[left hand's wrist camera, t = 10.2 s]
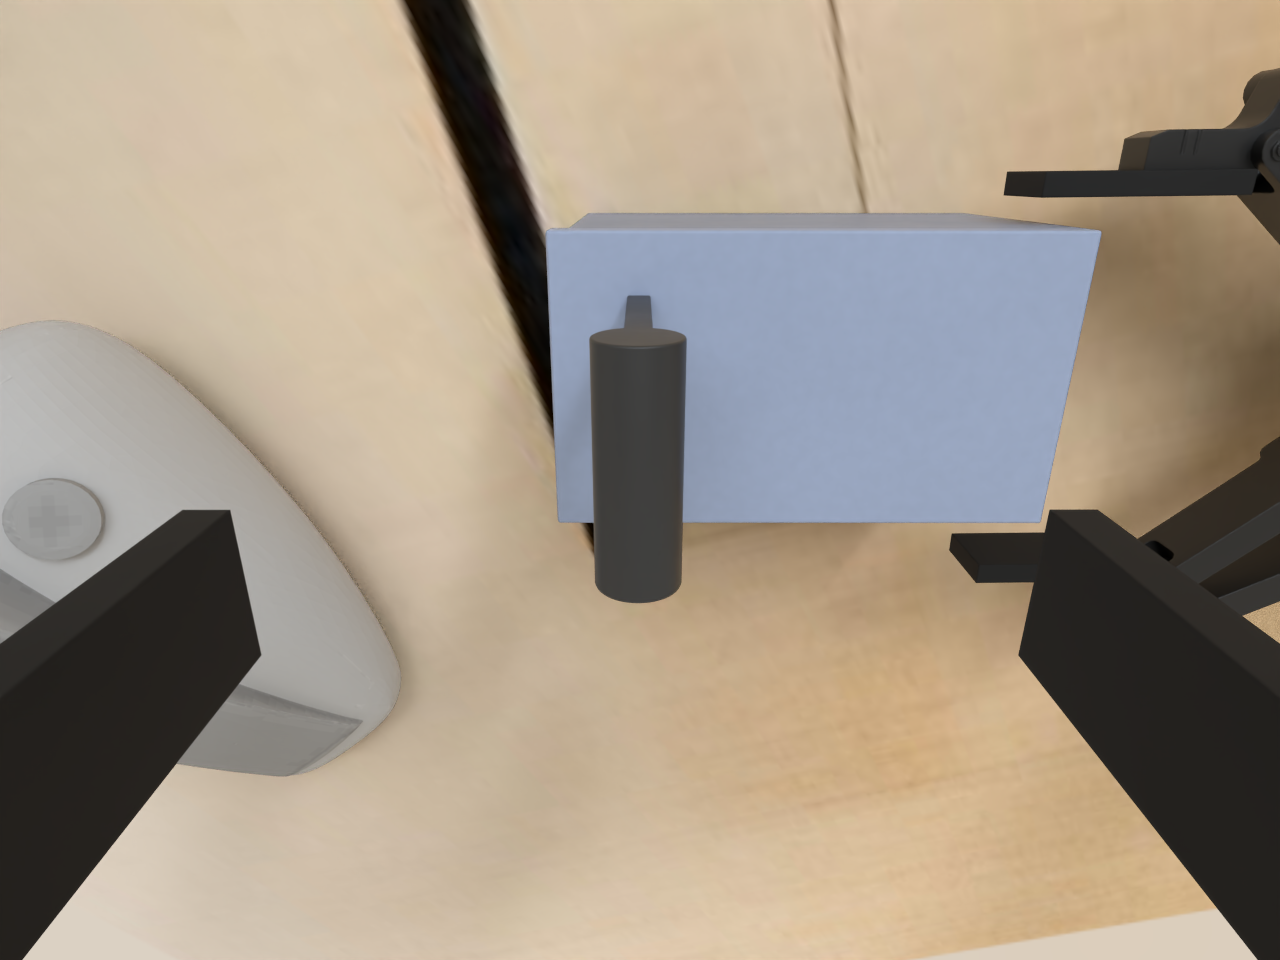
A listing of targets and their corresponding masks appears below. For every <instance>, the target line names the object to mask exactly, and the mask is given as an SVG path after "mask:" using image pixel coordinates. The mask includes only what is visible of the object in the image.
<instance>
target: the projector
mask: <svg viewBox="0 0 1280 960" xmlns="http://www.w3.org/2000/svg"><path fill="white" fill-rule="evenodd" d="M181 510H230V511H231V515H232V520H233V525H234V529H235V534H236V539H237V543H238V548H239V553H240V557H241V562H242V566H243V571H244V576H245V580H246V585H247V590H248V594H249V599H250V604H251V608H252V613H253V618H254V622H255V627H256V632H257V636H258V641H259V645H260V650H261V657H260V658H259V659H258V660H257V662H256V663H255V664H254V666H253V667H252V668H251V669H250V671H249V672H248V673H247V674H246V676H245V677H244V678H243V680H242V681H241V682H240V683H239V685H238V686H237V687H236V688H235V690H234V691H233V692H232V694H231V695H230V696H229V697H228V699H227V700H226V701H225V702H224V704H223V705H222V706H221V708H220V709H219V710H218V711H217V713H216V714H215V715H214V716H213V718H212V719H211V720H210V722H209V723H208V724H207V725H206V727H205V728H204V729H203V730H202V732H201V733H200V734H199V736H198V737H197V738H196V739H195V741H194V742H193V743H192V744H191V746H190V747H189V748H188V750H187V751H186V752H185V753H184V755H183V756H182V757H181V758H180V760H179V761H178V762H177V764H182V765H188V766H195V767H202V768H209V769H217V770H225V771H232V772H241V773H250V774H259V775H270V776H290V775H298V774H302V773H306V772H309V771H311V770H314V769H317V768H319V767H321V766H322V765H324V764H326V763H328V762H330V761H331V760H333V759H335V758H336V757H338V756H339V755H341V754H342V753H344V752H345V751H346V750H348V749H349V748H351V747H352V746H353V745H355V744H356V743H358V742H359V741H360V740H362V739H363V738H364V737H366V736H367V735H368V734H369V733H371V732H372V731H373V730H374V729H375V728H376V727H377V726H378V725H379V724H380V723H381V722H383V721H384V720H385V718H386V717H387V716H388V715H389V713H390V712H391V710H392V709H393V707H394V705H395V703H396V701H397V698H398V695H399V691H400V686H401V671H400V667H399V664H398V661H397V658H396V656H395V654H394V651H393V649H392V647H391V644H390V642H389V641H388V639H387V637H386V635H385V633H384V631H383V629H382V627H381V625H380V624H379V622H378V620H377V618H376V617H375V615H374V613H373V612H372V610H371V608H370V607H369V605H368V603H367V602H366V600H365V598H364V596H363V595H362V593H361V592H360V590H359V589H358V587H357V586H356V584H355V583H354V581H353V579H352V578H351V576H350V575H349V573H348V572H347V570H346V569H345V567H344V566H343V564H342V563H341V561H340V560H339V559H338V557H337V556H336V554H335V553H334V552H333V550H332V549H331V548H330V546H329V545H328V543H327V542H326V541H325V539H324V538H323V537H322V535H321V534H320V533H319V531H318V530H317V529H316V528H315V526H314V525H313V524H312V522H311V521H310V520H309V519H308V517H307V516H306V515H305V514H304V512H303V511H302V510H301V509H300V508H299V506H298V505H297V504H296V503H295V502H294V500H293V499H292V498H291V497H290V496H289V495H288V493H287V492H286V491H285V490H284V489H283V487H282V486H281V485H280V484H279V483H278V482H277V481H276V480H275V478H274V477H273V476H272V475H271V474H270V473H269V472H268V471H267V470H266V468H265V467H264V466H263V465H262V464H261V463H260V462H259V461H258V460H257V459H256V457H255V456H254V455H253V454H252V453H251V452H250V451H249V450H248V449H247V448H246V447H245V446H244V445H243V444H242V443H241V442H240V441H239V440H238V439H237V438H236V437H235V436H234V435H233V434H232V432H231V431H230V430H229V429H228V428H227V427H226V426H225V425H224V424H223V423H222V422H221V421H219V420H218V419H217V418H216V417H215V416H214V415H213V414H212V413H211V412H210V411H209V410H208V409H207V408H206V407H205V406H204V405H203V404H202V403H201V402H200V401H199V400H198V399H197V398H196V397H194V396H193V395H192V394H191V393H190V392H189V391H188V390H187V389H186V388H184V387H183V386H182V385H181V384H180V383H179V382H178V381H177V380H176V379H174V378H173V377H172V376H171V375H170V374H168V373H167V372H166V371H165V370H163V369H162V368H161V367H160V366H158V365H157V364H156V363H155V362H154V361H152V360H151V359H150V358H148V357H147V356H145V355H144V354H142V353H141V352H139V351H138V350H137V349H135V348H134V347H132V346H131V345H129V344H127V343H126V342H124V341H122V340H120V339H118V338H117V337H115V336H113V335H111V334H109V333H106V332H104V331H101V330H99V329H96V328H94V327H91V326H87V325H83V324H80V323H74V322H67V321H39V322H31V323H26V324H22V325H17V326H14V327H10V328H7V329H4V330H1V331H0V644H1V643H2V642H3V641H5V640H6V639H7V638H9V637H10V636H11V635H13V634H14V633H15V632H17V631H18V630H20V629H21V628H22V627H24V626H25V625H26V624H28V623H29V622H30V621H32V620H33V619H35V618H36V617H37V616H39V615H40V614H41V613H43V612H44V611H45V610H47V609H48V608H49V607H51V606H52V605H54V604H55V603H56V602H58V601H59V600H60V599H62V598H63V597H64V596H66V595H67V594H69V593H70V592H71V591H73V590H74V589H75V588H77V587H78V586H79V585H81V584H82V583H84V582H85V581H86V580H88V579H89V578H90V577H92V576H93V575H94V574H96V573H97V572H98V571H100V570H101V569H103V568H104V567H105V566H107V565H108V564H109V563H111V562H112V561H113V560H115V559H116V558H118V557H119V556H120V555H122V554H123V553H124V552H126V551H127V550H128V549H130V548H131V547H133V546H134V545H135V544H137V543H138V542H139V541H141V540H142V539H143V538H145V537H146V536H147V535H149V534H150V533H152V532H153V531H154V530H156V529H157V528H158V527H160V526H161V525H162V524H164V523H165V522H167V521H168V520H169V519H171V518H172V517H173V516H175V515H176V514H177V513H179V512H180V511H181Z"/></svg>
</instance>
